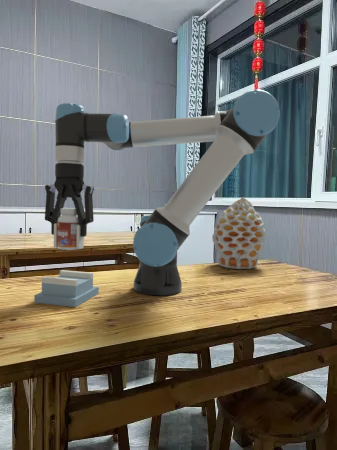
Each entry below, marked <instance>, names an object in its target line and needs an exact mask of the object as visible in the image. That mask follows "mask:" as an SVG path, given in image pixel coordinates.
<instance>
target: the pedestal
mask: <svg viewBox="0 0 337 450" xmlns="http://www.w3.org/2000/svg"><path fill="white" fill-rule="evenodd" d="M99 291H100V289H99V286H94V272H91V271H90V272H88V271H87V272H86V271H76V270H66V269H65V270H64V269H62V270H59V275H58V276H56V277H54V276H42V277H41V292H39V293H35V294H34V300H33V301H34V303H35V304H44V305H45V304H46V305H51V306H52V305H54V306H62V307H71V308H72V307H73V308H77V307H79V306H80V305H82V304H83V303H85V302H87V301H89V300H90V299H92V298H94V297H96V296H97V295H98V294H100V292H99Z"/></svg>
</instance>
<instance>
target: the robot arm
mask: <svg viewBox="0 0 337 450" xmlns="http://www.w3.org/2000/svg"><path fill="white" fill-rule="evenodd" d="M55 112H56V113H55V120H54V124H55V153H54V154H55V158H54V159H55V162H57V163H55V164H54V165H55V168H54V170H55V171H54V174H55V175H54V176H55V181H54V183H53V184H46V185H45V186H44V189H45V194H46V195H45V209H44V210H45V211H44V220H45V221H46V222H47V221H48V222H50V224H51V225H50V226H51V228H50V229H51V232H50V233H51V235H52V236H53V248H58V247H57V236H58V218H59V217H60V216H61V215H62V214H61V213H60V210H61V208H65V207H64V206H65V204H66V203H65V202H66V201H67V199H68V198H71V200H72V202H73V205H74V208H75V209H76V212H77V216H78V220H79V223H78V224H79V225H77V246H76V249H75V250H81V249H84V246H85V244H84V241H85V240H84V238H85V237H87V235H88V233H87V228H88V224H91V223H93V222H94V218H95V217H94V203H93V201H94V200H93V193H94V190H95V187H94V186H93V185H86V184H85V182H84V177H85V176H84V174H85V172H84V171H85V170H84V169H85V167H84V165H83V163H84V162H85V161H84V160H85V152H84V151H85V143H90V142H92V143H103V144H104V145H105V146H106V147H107V148H109V149H111V150H114V151H122V150H124V149H130V148H138V147H139V148H140V147H152V146H153V147H155V146H167V145H169V146H170V145H180V144H181V145H182V144H195V143H198V144H199V143H210V142H211V143H212V144H210V146H209V147H208V149H207V150H206V151H205V153H204V154H203V155H202V156H201V158H200V159H199V160H198V162H197V163H196V164H195V166H194V167H193V169H192V170H191V171H190V172H189V173H188V175H187V176H186V178H185V179H183V181H182V182H181V184H180V185H179V186H178V188H177V189H176V191H175V192H174V193H173V194H172V196H171V197H170V199H169V200H168V201H167V202H166V204H165V205H163V206H162V207H161V206H160V207H156V208H155V209H154V210H153V212H151V214H150V215H149V214H148V215H143V216H142V217H141V218H140V223H139V226H140V227H139V228H138V229H137V231H136V232H135V233H134V237H133V239H132V240H133V243H132V245H133V251H134V254H135V255H136V256H135V257H137V259H138V260H139V264H138V265H139V266H138V268H137V271H136V274H135V277H134V279H133V291H134V292H137V293H139V294H143V295H151V296H169V295H175V294H179V293H181V291H182V290H183V289H182V285H183V283H182V280H181V279H182V278H181V276H180V273H179V269H178V250H179V249H180V248H181V246H183V244H184V243H185V241H186V240H187V238H188V237H190V233H191V232H190V231H191V230H190V225H191V224H193V221H194V220H195V219H196V218H197V217H198V216H199V214H200V213H201V211H202V210H203V209H204V207H206V205H207V204H208V202H209V201H210V200H211V198H212V197H213V196H214V195H215V193H216V192H217V191H218V190H219V188H220V187H221V186H222V185H223V183H224V182H225V180H226V179H227V178H228V177H229V175H230V174H231V173H232V171H233V170H234V169H235V167H236V166H237V165H238V163H239V162H240V161H241V159H242V158H243V157H244V156H245V155H250V154H251V155H252V154H253V153H254V152H255V151H256V150H257V148H259V146H260V145H261V143H262V142H263V141H264V139H266V137H267V136H268V135H269V134H270V133H271V132H273V131H274V130H275V129H276V127H277V125H278V123H279V120H280V117H281V111H280V106H279V103H278V100H277V99H276V98H275V97H274V96H273V95H272V94H271V93H270V92H268V91H265V90H263V89H251V90H249V91H246V92H244V93H243V94H242V95H240V96H239V97H238V98H237V99H236V101H235V103H234V105H233V107H232V108H231V109H228V110H223V111H222V110H220V111H216V113H215V114H213V115H202V116H189V117H179V118H165V119H162V118H161V119H152V120H151V119H150V120H140V121H139V120H137V121H129V118H128V116H127V115H126V114H119V113H115V112H114V113H89V112H86V111H85V107H84V106H83V105H81V104H77V103H69V102H67V103H65V102H64V103H60V104H59V105H57V107H56V109H55ZM56 191H57V192H58V193H57V195H56ZM82 191H83V193H84V196H83V197H84V204H83V202H82V201H83V198H82V194H81V193H82ZM55 199H56V200H55Z"/></svg>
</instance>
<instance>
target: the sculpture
mask: <svg viewBox="0 0 337 450" xmlns="http://www.w3.org/2000/svg"><path fill="white" fill-rule="evenodd" d="M264 225H265V223H264V221H263V219H262V216H261V215H260V214H259V212H257V211H256V210H255V207H254V205H253V204H252V202H251V201H249V200H248V199H247V198H245V197H241V198H240V199H237V200H236V201H234V202H233V203H232V204H230V205H229V206H228V207H227V208H226V209H225V210H224V211H223V212H222V214H221V215H220V216H219V217H218V219H217V221H216V223H215V224H214V227H213V233H212V237H211V238H212V243H213V244H214V248H215V250H216V252H217V254H218V255H219V258H218V266H220V267H223V268H226V269H227V268H228V269H233V270H234V269H236V270H244V269H245V270H251V269H253V268H257V266H258V262H259V258H260V256H261V254H262V253H263V251H264V244H265V238H266V229H265V228H264Z"/></svg>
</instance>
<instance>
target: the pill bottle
mask: <svg viewBox="0 0 337 450" xmlns="http://www.w3.org/2000/svg"><path fill="white" fill-rule="evenodd" d="M60 213H61V216H60V217H59V218H58V236H57V247H56V248H57V249H59V250H64V251H65V250H66V251H73V250H77V249H76V246H77V225H79V224H78V223H79V220H78V216H77V212H76V209H75V207H74V208H73V207H72V208H70V207H68V208H67V207H63V208H61V210H60Z"/></svg>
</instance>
